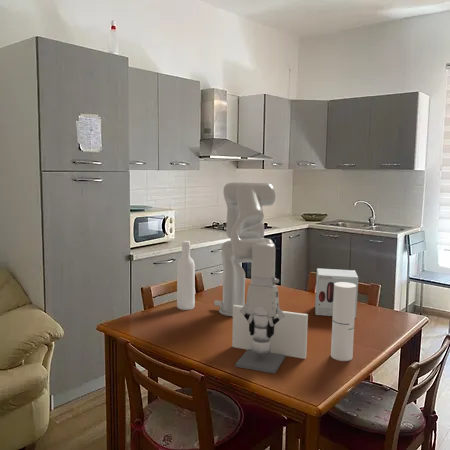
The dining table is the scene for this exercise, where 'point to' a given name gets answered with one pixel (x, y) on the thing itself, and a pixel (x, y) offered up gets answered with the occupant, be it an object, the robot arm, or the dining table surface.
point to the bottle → (185, 279)
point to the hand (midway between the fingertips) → (261, 334)
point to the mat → (260, 361)
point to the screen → (275, 333)
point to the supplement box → (331, 288)
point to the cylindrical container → (343, 321)
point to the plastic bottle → (260, 332)
